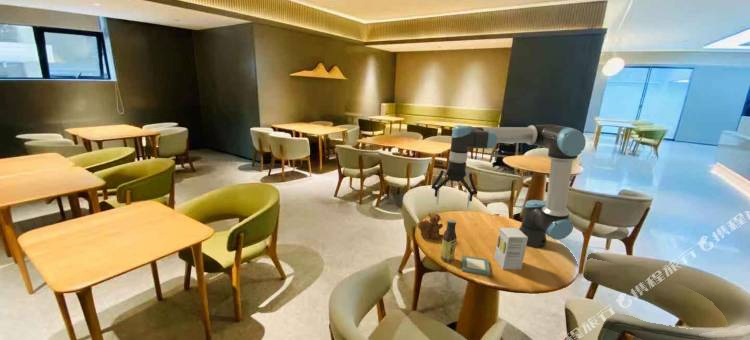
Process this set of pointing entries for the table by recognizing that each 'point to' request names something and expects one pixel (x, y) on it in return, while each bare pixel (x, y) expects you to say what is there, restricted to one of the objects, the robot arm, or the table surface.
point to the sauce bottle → (449, 242)
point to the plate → (475, 265)
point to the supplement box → (510, 248)
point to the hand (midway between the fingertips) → (452, 205)
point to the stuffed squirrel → (431, 227)
